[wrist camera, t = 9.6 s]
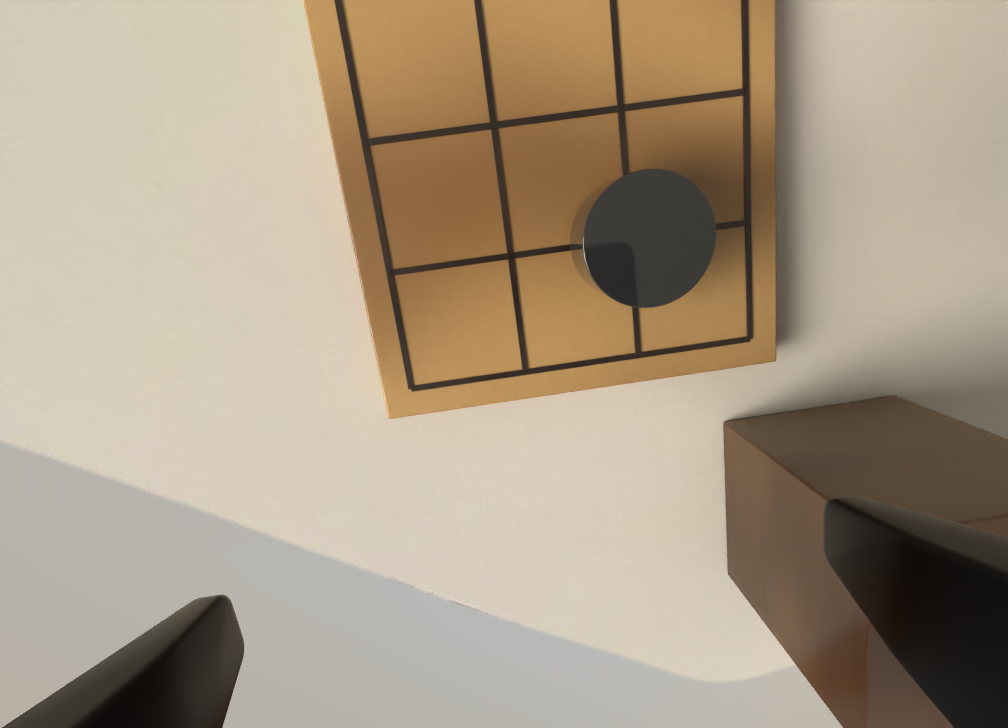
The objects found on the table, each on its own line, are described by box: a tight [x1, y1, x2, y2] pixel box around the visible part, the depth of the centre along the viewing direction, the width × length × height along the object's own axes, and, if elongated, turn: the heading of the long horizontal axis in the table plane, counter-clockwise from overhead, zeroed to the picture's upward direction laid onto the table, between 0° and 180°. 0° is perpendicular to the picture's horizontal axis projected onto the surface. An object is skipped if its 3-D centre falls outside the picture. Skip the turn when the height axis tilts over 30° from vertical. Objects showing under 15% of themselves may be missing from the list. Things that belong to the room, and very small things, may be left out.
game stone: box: [570, 168, 716, 308], centre depth 16 cm, size 4×4×2 cm
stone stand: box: [723, 396, 1008, 728], centre depth 18 cm, size 7×7×8 cm
